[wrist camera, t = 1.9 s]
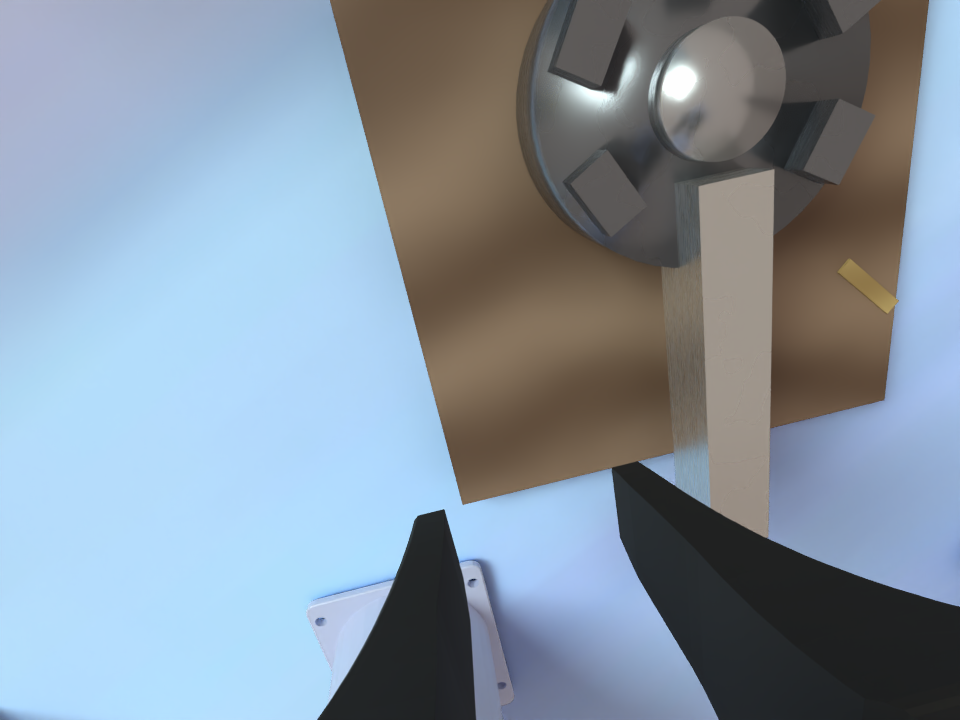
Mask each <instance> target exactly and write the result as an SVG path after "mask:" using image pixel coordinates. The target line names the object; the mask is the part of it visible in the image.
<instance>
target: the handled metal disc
mask: <svg viewBox="0 0 960 720" xmlns="http://www.w3.org/2000/svg"><path fill="white" fill-rule="evenodd" d="M880 1H881V0H548V1H547V2H546V4H545V5H544V7H543V9H542V11H541V13H540V14H539V16H538V18H537V20H536V22H535V24H534V26H533V28H532V31H531V34H530V36H529V39H528V42H527V44H526V47H525V50H524V54H523V58H522V62H521V66H520V70H519V77H518V84H517V92H516V120H517V130H518V138H519V142H520V147H521V151H522V156H523V158H524V161H525V164H526V167H527V170H528V173H529V175H530V177H531V179H532V181H533V183H534V185H535V187H536V189H537V191H538V192H539V194H540V195H541V197H542V198H543V199H544V201H545V202H546V204H547V205H548V207H549V208H550V209H551V210H552V211H553V212H554V213H555V214H556V215H557V216H558V218H559V219H560V220H562V221H563V222H564V223H565V224H566V225H568V226H569V227H570V228H571V229H573V230H574V231H576V232H577V233H579V234H581V235H582V236H584V237H586V238H587V239H589V240H591V241H593V242H595V243H597V244H599V245H602V246H604V247H606V248H608V249H610V250H612V251H614V252H616V253H618V254H620V255H623V256H625V257H627V258H630V259H632V260H635V261H637V262H641V263H645V264H649V265H653V266H660V267H661V273H662V288H663V303H664V317H665V332H666V347H667V362H668V377H669V392H670V407H671V422H672V437H673V451H674V466H675V481H676V487H677V488H679V489H681V490H682V491H684V492H685V493H687V494H688V495H690V496H692V497H693V498H695V499H696V500H698V501H700V502H701V503H703V504H705V505H706V506H708V507H710V508H711V509H713V510H715V511H716V512H718V513H720V514H722V515H723V516H725V517H727V518H729V519H731V520H733V521H734V522H736V523H738V524H740V525H742V526H744V527H746V528H748V529H749V530H751V531H753V532H755V533H757V534H759V535H761V536H763V537H765V538H767V537H768V521H769V462H770V402H771V342H772V283H773V235H775V234H776V233H777V232H779V231H780V230H782V229H783V228H784V227H786V226H787V225H788V224H789V223H790V222H791V221H792V220H793V219H794V218H795V217H796V216H797V215H799V214H800V213H801V212H802V211H803V210H804V208H805V207H806V206H807V205H808V204H809V203H810V202H811V201H812V199H813V198H814V197H815V196H816V195H817V194H818V192H819V191H820V190H821V188H822V187H823V185H824V184H831V185H839V184H840V182H841V180H842V178H843V177H844V175H845V173H846V171H847V169H848V167H849V165H850V163H851V161H852V160H853V158H854V156H855V154H856V152H857V150H858V148H859V146H860V144H861V142H862V141H863V139H864V137H865V135H866V133H867V131H868V129H869V127H870V125H871V124H872V122H873V120H874V118H875V116H876V115H874V114H872V113H869V112H867V111H865V110H863V109H861V107H862V103H863V99H864V95H865V91H866V86H867V80H868V72H869V65H870V45H871V32H870V21H869V10H871V9H872V8H873V7H874V6H875V5H876V4H877V3H879V2H880Z"/></svg>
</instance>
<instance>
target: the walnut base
mask: <svg viewBox="0 0 960 720" xmlns="http://www.w3.org/2000/svg"><path fill="white" fill-rule="evenodd" d="M547 1H548V0H330V3H331V6H332V10H333V14H334V18H335V22H336V25H337V29H338V33H339V37H340V41H341V44H342V48H343V52H344V56H345V60H346V63H347V67H348V71H349V75H350V79H351V82H352V86H353V90H354V94H355V98H356V101H357V105H358V109H359V113H360V116H361V120H362V124H363V128H364V132H365V135H366V139H367V143H368V147H369V151H370V154H371V158H372V162H373V166H374V170H375V173H376V177H377V181H378V185H379V189H380V192H381V196H382V200H383V204H384V208H385V211H386V215H387V219H388V223H389V227H390V230H391V234H392V238H393V242H394V246H395V249H396V253H397V257H398V261H399V265H400V268H401V272H402V276H403V280H404V284H405V287H406V291H407V295H408V299H409V303H410V306H411V310H412V314H413V318H414V322H415V325H416V329H417V333H418V337H419V341H420V344H421V348H422V352H423V356H424V359H425V363H426V367H427V371H428V375H429V378H430V382H431V386H432V390H433V394H434V397H435V401H436V405H437V409H438V413H439V416H440V420H441V424H442V428H443V432H444V435H445V439H446V443H447V447H448V451H449V454H450V458H451V462H452V466H453V470H454V473H455V477H456V481H457V485H458V489H459V492H460V496H461V500H462V504H463V505H464V504H468V503H472V502H476V501H480V500H484V499H488V498H492V497H496V496H500V495H504V494H508V493H512V492H516V491H520V490H524V489H529V488H533V487H537V486H541V485H545V484H549V483H553V482H557V481H561V480H565V479H569V478H573V477H577V476H581V475H585V474H589V473H593V472H597V471H601V470H605V469H609V468H612V467H616V466H620V465H624V464H628V463H632V462H636V461H641V460H645V459H649V458H653V457H657V456H661V455H665V454H669V453H673V452H674V451H673V437H672V422H671V407H670V392H669V377H668V362H667V347H666V332H665V317H664V303H663V288H662V273H661V267H660V266H653V265H649V264H645V263H641V262H637V261H635V260H632V259H630V258H627V257H625V256H623V255H620V254H618V253H616V252H614V251H612V250H610V249H608V248H606V247H604V246H602V245H599V244H597V243H595V242H593V241H591V240H589V239H587V238H586V237H584V236H582V235H581V234H579V233H577V232H576V231H574V230H573V229H571V228H570V227H569V226H568V225H566V224H565V223H564V222H563V221H562V220H560V219H559V218H558V216H557V215H556V214H555V213H554V212H553V211H552V210H551V209H550V208H549V207H548V205H547V204H546V202H545V201H544V199H543V198H542V197H541V195H540V194H539V192H538V191H537V189H536V187H535V185H534V183H533V181H532V179H531V177H530V175H529V173H528V170H527V167H526V164H525V161H524V158H523V156H522V151H521V147H520V142H519V138H518V130H517V120H516V92H517V84H518V77H519V70H520V66H521V62H522V58H523V54H524V50H525V47H526V44H527V42H528V39H529V36H530V34H531V31H532V28H533V26H534V24H535V22H536V20H537V18H538V16H539V14H540V13H541V11H542V9H543V7H544V5H545V4H546V2H547ZM928 4H929V0H881V1H880V2H879V3H877V4H876V5H875V6H874V7H873V8H872V9H871V10H869V21H870V32H871V45H870V65H869V72H868V80H867V86H866V91H865V95H864V99H863V103H862V107H861V109H863V110H865V111H867V112H869V113H872V114H874V115H876V116H875V118H874V120H873V122H872V124H871V125H870V127H869V129H868V131H867V133H866V135H865V137H864V139H863V141H862V142H861V144H860V146H859V148H858V150H857V152H856V154H855V156H854V158H853V160H852V161H851V163H850V165H849V167H848V169H847V171H846V173H845V175H844V177H843V178H842V180H841V182H840V184H839V185H831V184H824V185H823V187H822V188H821V190H820V191H819V192H818V194H817V195H816V196H815V197H814V198H813V199H812V201H811V202H810V203H809V204H808V205H807V206H806V207H805V208H804V210H803V211H802V212H801V213H800V214H799V215H797V216H796V217H795V218H794V219H793V220H792V221H791V222H790V223H789V224H788V225H787V226H786V227H784V228H783V229H782V230H780V231H779V232H777V233H776V234H775V235H773V283H772V342H771V402H770V428H774V427H778V426H782V425H786V424H790V423H794V422H798V421H802V420H806V419H810V418H814V417H818V416H822V415H826V414H830V413H834V412H838V411H842V410H846V409H850V408H854V407H858V406H862V405H866V404H870V403H874V402H878V401H882V400H884V398H885V389H886V380H887V371H888V362H889V353H890V344H891V335H892V326H893V317H894V308H895V305H896V304H897V302H898V300H897V299H896V290H897V282H898V273H899V264H900V255H901V246H902V237H903V228H904V219H905V210H906V201H907V192H908V183H909V174H910V165H911V156H912V147H913V138H914V129H915V121H916V112H917V103H918V94H919V85H920V76H921V67H922V58H923V49H924V40H925V31H926V22H927V13H928Z"/></svg>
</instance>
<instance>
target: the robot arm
mask: <svg viewBox="0 0 960 720" xmlns="http://www.w3.org/2000/svg"><path fill="white" fill-rule="evenodd" d="M612 475H613V483H614V491H615V499H616V508H617V516H618V524H619V532H620V538H621V540H622V543H623V545H624V547H625V549H626V552H627V554H628V556H629V559H630V561H631V563H632V565H633V567H634V569H635V572H636V574H637V576H638V578H639V580H640V581H641V583H642V585H643V586H644V588H645V590H646V592H647V593H648V595H649V597H650V598H651V600H652V602H653V603H654V605H655V607H656V608H657V610H658V612H659V613H660V615H661V617H662V618H663V620H664V622H665V623H666V625H667V627H668V628H669V630H670V632H671V633H672V635H673V637H674V638H675V640H676V641H677V643H678V645H679V646H680V648H681V650H682V651H683V653H684V655H685V656H686V658H687V660H688V661H689V663H690V665H691V666H692V668H693V670H694V672H695V673H696V675H697V677H698V679H699V681H700V683H701V684H702V686H703V688H704V690H705V692H706V694H707V696H708V698H709V700H710V702H711V704H712V706H713V708H714V710H715V712H716V714H717V716H718V719H719V720H960V607H958V606H954V605H950V604H946V603H943V602H939V601H935V600H932V599H929V598H925V597H922V596H919V595H915V594H912V593H909V592H905V591H902V590H899V589H895V588H892V587H889V586H886V585H883V584H880V583H877V582H874V581H871V580H868V579H865V578H862V577H860V576H857V575H854V574H851V573H849V572H846V571H843V570H841V569H838V568H835V567H833V566H830V565H827V564H825V563H822V562H820V561H817V560H815V559H812V558H810V557H807V556H805V555H803V554H800V553H798V552H796V551H794V550H792V549H789V548H787V547H785V546H783V545H780V544H778V543H776V542H774V541H771V540H769V539H767V538H765V537H763V536H761V535H759V534H757V533H755V532H753V531H751V530H749V529H748V528H746V527H744V526H742V525H740V524H738V523H736V522H734V521H733V520H731V519H729V518H727V517H725V516H723V515H722V514H720V513H718V512H716V511H715V510H713V509H711V508H710V507H708V506H706V505H705V504H703V503H701V502H700V501H698V500H696V499H695V498H693V497H692V496H690V495H688V494H687V493H685V492H684V491H682V490H681V489H679V488H677V487H676V486H674V485H673V484H671V483H670V482H668V481H667V480H665V479H664V478H662V477H661V476H659V475H658V474H656V473H655V472H653V471H652V470H650V469H649V468H647V467H645V466H644V465H642V464H641V463H639V462H638V461H636V462H632V463H628V464H624V465H620V466H616V467H612ZM470 579H476V580H474V581H469V580H470ZM306 615H307V618H308V620H309V622H310V625H311V627H312V629H313V631H314V633H315V636H316V638H317V640H318V642H319V644H320V647H321V649H322V651H323V653H324V655H325V658H326V660H327V662H328V664H329V667H330V669H331V671H332V676H331V683H330V690H329V697H328V704H327V706H326V708H325V709H324V711H323V712H322V714H321V715H320V717H319V718H318V719H317V720H503V716H502V710H501V706H503V705H507V704H509V703H510V702H512V701H513V699H514V692H513V688H512V684H511V680H510V676H509V672H508V668H507V665H506V661H505V657H504V653H503V649H502V646H501V642H500V638H499V634H498V630H497V626H496V623H495V619H494V615H493V611H492V607H491V603H490V600H489V596H488V592H487V588H486V584H485V581H484V577H483V573H482V569H481V566H480V564H479V563H478V562H476V561H466V562H462V563H459V560H458V556H457V553H456V549H455V546H454V542H453V539H452V535H451V532H450V528H449V524H448V521H447V517H446V514H445V510H444V509H443V510H439V511H435V512H431V513H427V514H423V515H419V516H417V518H416V519H415V521H414V524H413V528H412V531H411V535H410V538H409V541H408V544H407V547H406V550H405V553H404V556H403V559H402V562H401V564H400V567H399V569H398V572H397V574H396V577H395V579H394V580H391V581H387V582H383V583H379V584H375V585H371V586H367V587H363V588H359V589H355V590H351V591H347V592H343V593H340V594H336V595H332V596H328V597H324V598H320V599H316V600H313V601H311V602H310V603H309V604H308V607H307V611H306ZM319 618H325V619H319Z"/></svg>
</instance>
